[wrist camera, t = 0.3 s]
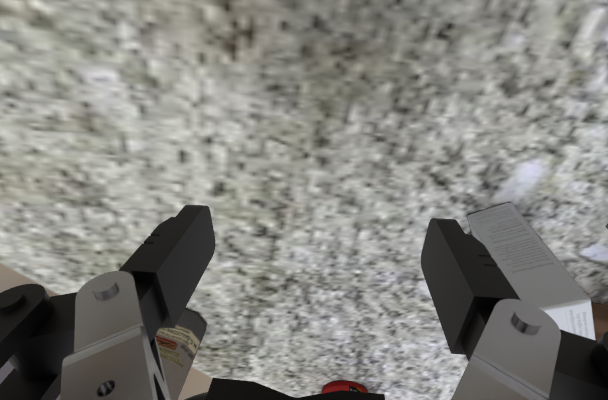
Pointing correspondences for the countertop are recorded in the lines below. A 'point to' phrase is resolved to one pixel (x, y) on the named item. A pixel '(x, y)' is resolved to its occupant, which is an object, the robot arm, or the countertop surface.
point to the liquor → (179, 349)
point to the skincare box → (533, 268)
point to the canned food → (343, 387)
